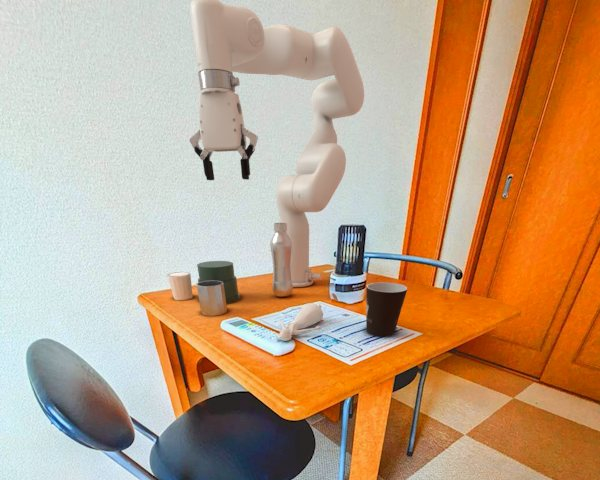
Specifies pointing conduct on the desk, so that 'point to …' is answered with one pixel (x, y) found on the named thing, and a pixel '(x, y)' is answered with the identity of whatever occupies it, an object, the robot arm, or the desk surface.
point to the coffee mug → (383, 307)
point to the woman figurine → (302, 321)
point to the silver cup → (212, 297)
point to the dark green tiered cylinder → (220, 277)
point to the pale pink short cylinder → (180, 285)
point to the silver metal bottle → (281, 261)
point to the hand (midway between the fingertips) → (228, 179)
